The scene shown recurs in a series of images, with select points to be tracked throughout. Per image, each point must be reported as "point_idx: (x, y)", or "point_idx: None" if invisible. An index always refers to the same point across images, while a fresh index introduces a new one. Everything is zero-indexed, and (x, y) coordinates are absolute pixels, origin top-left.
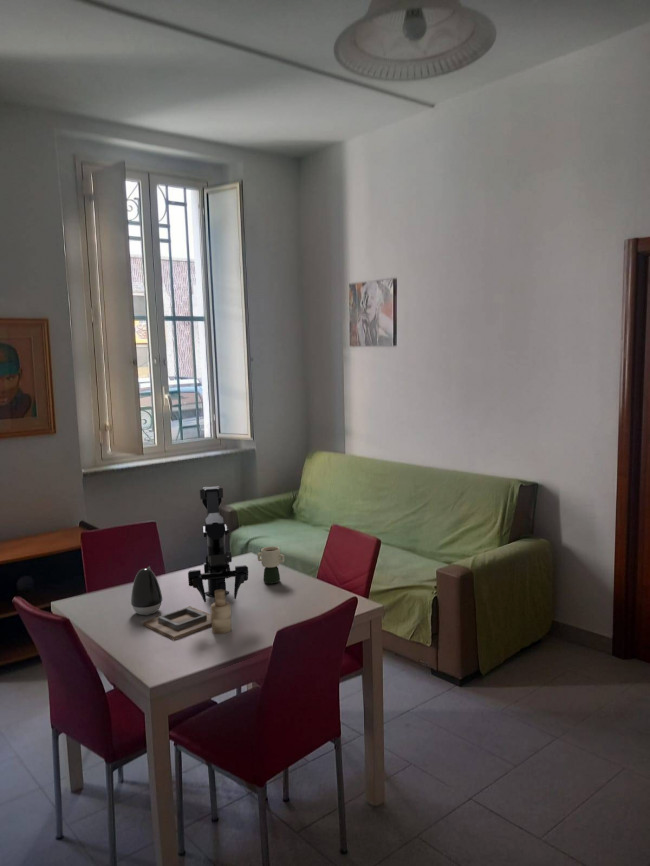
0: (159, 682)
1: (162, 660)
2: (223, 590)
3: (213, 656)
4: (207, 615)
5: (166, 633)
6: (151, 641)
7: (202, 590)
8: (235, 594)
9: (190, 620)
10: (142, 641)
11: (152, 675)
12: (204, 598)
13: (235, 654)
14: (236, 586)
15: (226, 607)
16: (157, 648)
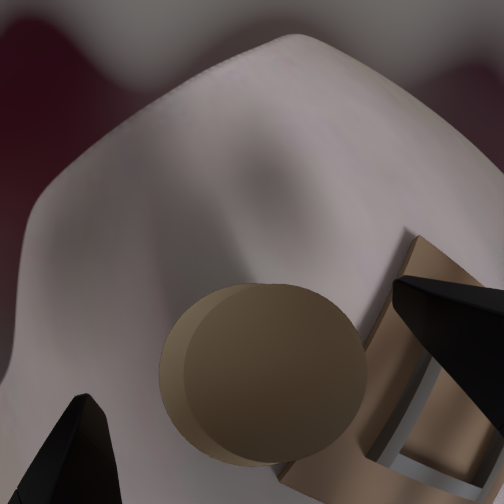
0: (292, 37)
1: (353, 106)
2: (217, 408)
3: (198, 122)
4: (376, 501)
5: (459, 267)
6: (468, 226)
7: (501, 298)
8: (69, 419)
9: (429, 369)
10: (487, 226)
11: (327, 56)
12: (419, 279)
13: (123, 140)
14: (27, 495)
15: (177, 321)
16: (420, 175)
